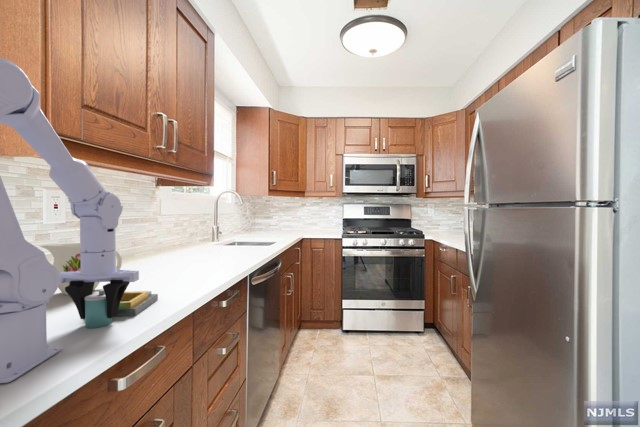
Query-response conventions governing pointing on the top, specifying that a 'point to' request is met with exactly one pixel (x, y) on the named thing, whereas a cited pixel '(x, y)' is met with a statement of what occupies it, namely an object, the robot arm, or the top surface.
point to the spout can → (96, 311)
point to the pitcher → (70, 260)
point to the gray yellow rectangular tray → (135, 302)
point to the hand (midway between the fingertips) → (99, 316)
